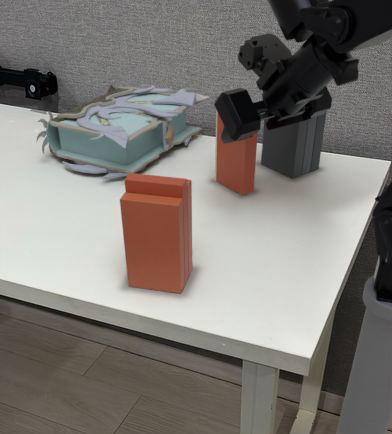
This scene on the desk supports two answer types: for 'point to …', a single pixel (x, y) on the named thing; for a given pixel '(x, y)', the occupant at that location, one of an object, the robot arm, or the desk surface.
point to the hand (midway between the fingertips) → (245, 133)
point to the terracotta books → (157, 231)
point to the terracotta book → (235, 161)
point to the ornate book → (121, 129)
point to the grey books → (294, 147)
